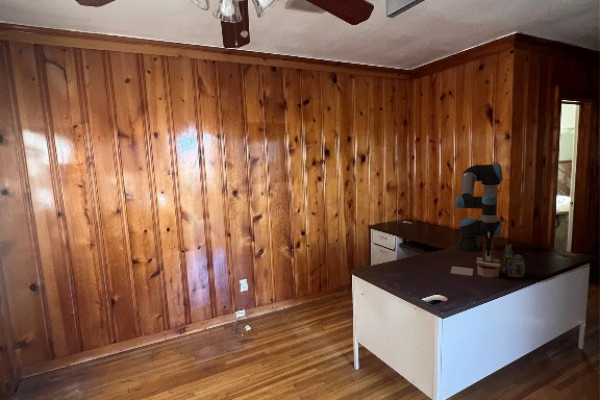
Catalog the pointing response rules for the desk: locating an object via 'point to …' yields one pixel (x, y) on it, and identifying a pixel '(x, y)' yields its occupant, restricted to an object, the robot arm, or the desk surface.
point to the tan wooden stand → (488, 263)
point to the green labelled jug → (513, 265)
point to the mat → (462, 270)
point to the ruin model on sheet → (508, 249)
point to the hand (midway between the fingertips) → (488, 259)
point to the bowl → (488, 271)
